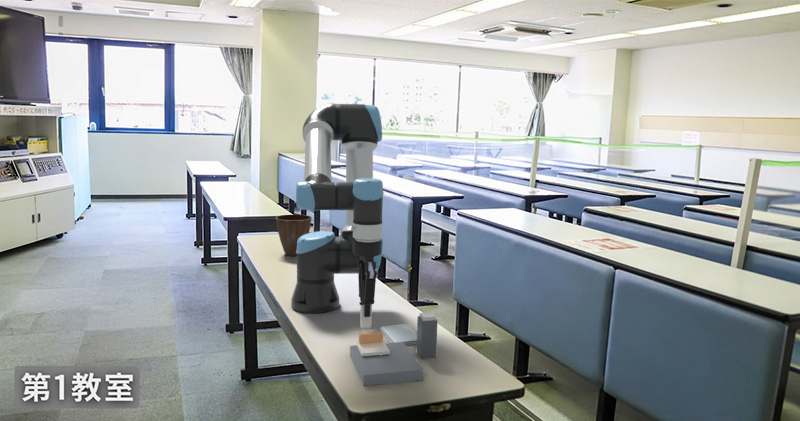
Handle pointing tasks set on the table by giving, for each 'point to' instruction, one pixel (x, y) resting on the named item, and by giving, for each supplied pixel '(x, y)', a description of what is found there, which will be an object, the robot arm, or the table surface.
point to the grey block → (426, 336)
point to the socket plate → (387, 365)
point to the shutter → (372, 344)
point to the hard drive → (400, 334)
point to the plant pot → (292, 231)
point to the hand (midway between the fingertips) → (365, 327)
